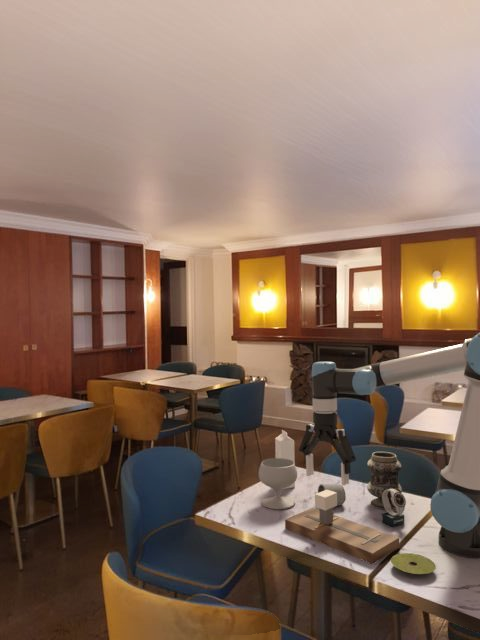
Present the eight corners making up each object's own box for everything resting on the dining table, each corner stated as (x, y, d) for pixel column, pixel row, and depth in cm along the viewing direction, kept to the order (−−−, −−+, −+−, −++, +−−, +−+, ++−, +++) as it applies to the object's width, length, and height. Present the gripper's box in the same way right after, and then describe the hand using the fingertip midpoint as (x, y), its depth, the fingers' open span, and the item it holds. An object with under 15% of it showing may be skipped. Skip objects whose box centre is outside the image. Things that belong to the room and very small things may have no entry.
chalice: (251, 506, 177) (251, 464, 177) (271, 494, 189) (270, 455, 189) (286, 514, 170) (285, 470, 170) (304, 501, 181) (303, 460, 181)
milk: (280, 489, 195) (279, 433, 195) (275, 484, 201) (274, 430, 200) (295, 487, 196) (294, 432, 196) (289, 482, 202) (288, 429, 202)
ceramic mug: (347, 507, 175) (346, 485, 175) (325, 510, 173) (325, 488, 173) (334, 497, 186) (333, 477, 186) (313, 500, 183) (313, 479, 184)
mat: (384, 560, 137) (384, 553, 137) (423, 558, 138) (423, 551, 138) (401, 582, 125) (401, 574, 125) (443, 579, 126) (443, 572, 126)
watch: (396, 530, 156) (396, 495, 156) (378, 521, 163) (377, 487, 163) (409, 526, 159) (408, 492, 159) (390, 517, 166) (390, 484, 166)
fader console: (399, 547, 144) (399, 536, 144) (372, 564, 135) (372, 552, 135) (312, 516, 168) (312, 506, 168) (285, 528, 158) (285, 518, 158)
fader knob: (337, 521, 155) (337, 492, 155) (325, 526, 151) (325, 497, 151) (327, 517, 158) (326, 489, 158) (315, 523, 154) (314, 494, 154)
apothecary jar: (399, 499, 183) (399, 450, 183) (404, 511, 171) (404, 459, 171) (366, 497, 185) (365, 449, 185) (368, 509, 173) (368, 458, 173)
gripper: (366, 414, 148) (368, 485, 148) (302, 405, 166) (303, 469, 166) (351, 417, 143) (354, 491, 143) (287, 408, 161) (289, 474, 161)
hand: (327, 479), depth 155 cm, fingers open, 13 cm apart
